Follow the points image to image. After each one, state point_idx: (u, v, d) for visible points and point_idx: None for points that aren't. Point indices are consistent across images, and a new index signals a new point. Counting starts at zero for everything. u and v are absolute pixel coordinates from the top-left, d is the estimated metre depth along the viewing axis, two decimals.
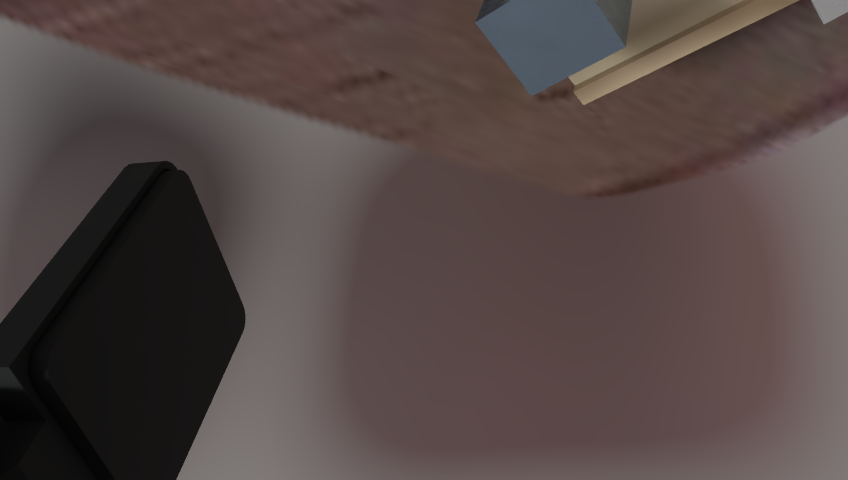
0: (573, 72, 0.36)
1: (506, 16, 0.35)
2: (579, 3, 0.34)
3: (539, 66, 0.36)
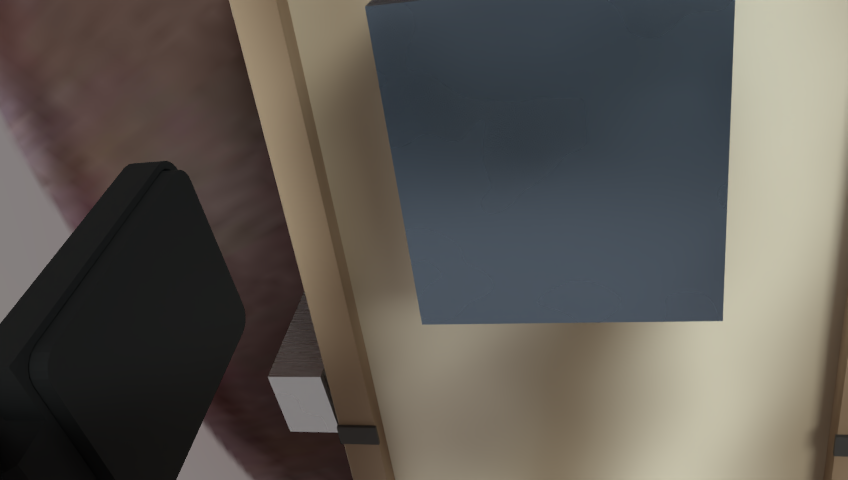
0: (396, 169, 0.11)
1: (688, 83, 0.10)
2: (601, 289, 0.12)
3: (462, 88, 0.10)
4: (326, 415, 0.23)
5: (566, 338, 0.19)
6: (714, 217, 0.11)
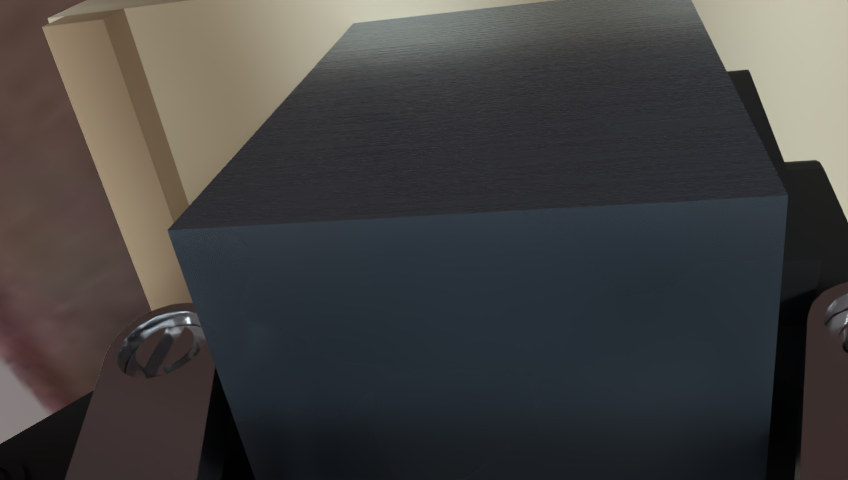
0: (249, 442, 0.07)
1: (701, 362, 0.06)
2: None
3: (336, 349, 0.06)
4: None
5: None
6: None
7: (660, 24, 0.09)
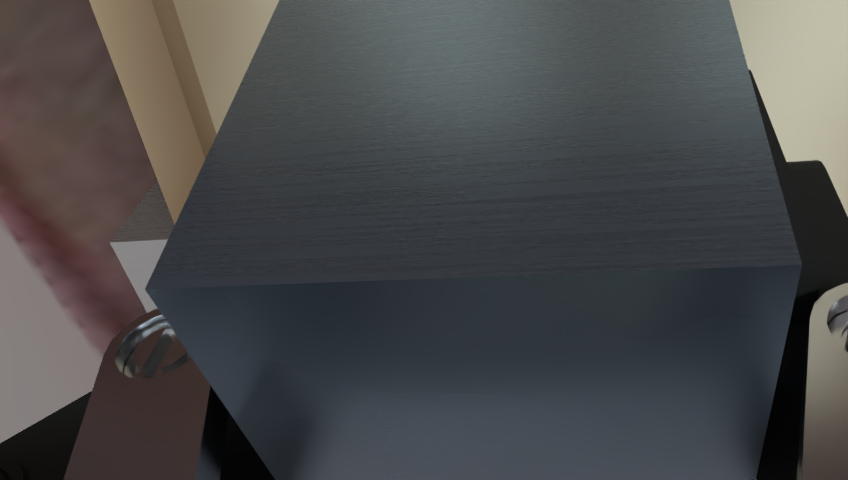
0: (256, 438, 0.08)
1: (701, 389, 0.06)
2: None
3: (332, 379, 0.06)
4: None
5: None
6: None
7: None
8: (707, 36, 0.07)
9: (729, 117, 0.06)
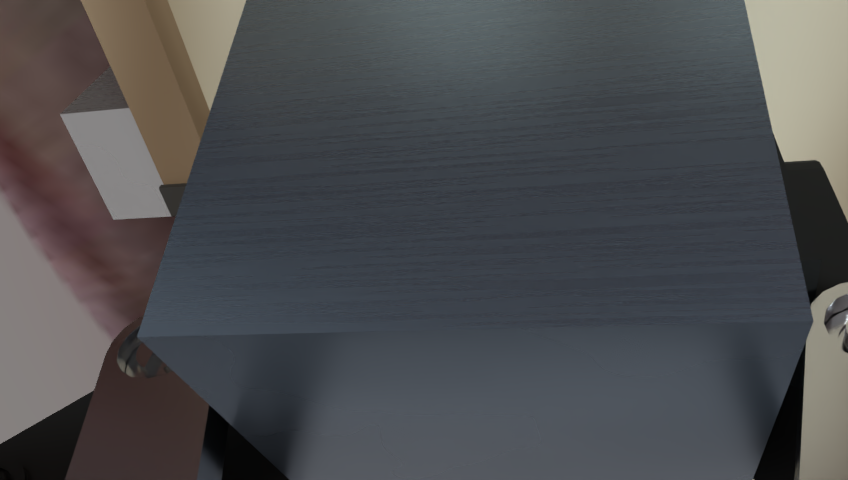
0: (259, 441, 0.08)
1: (704, 411, 0.06)
2: None
3: (333, 401, 0.06)
4: (160, 184, 0.15)
5: None
6: None
7: None
8: (716, 31, 0.06)
9: (739, 136, 0.06)
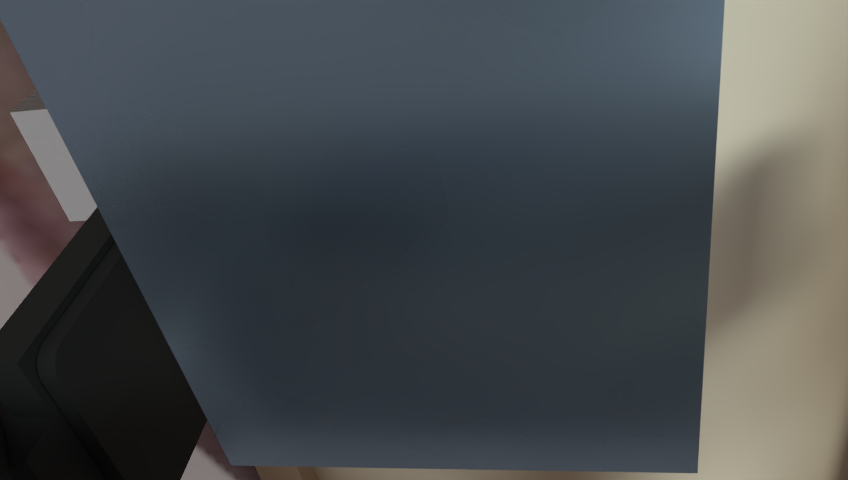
0: (131, 257, 0.06)
1: (631, 121, 0.05)
2: (500, 428, 0.07)
3: (206, 130, 0.05)
4: None
5: None
6: (683, 336, 0.06)
7: None
8: None
9: None
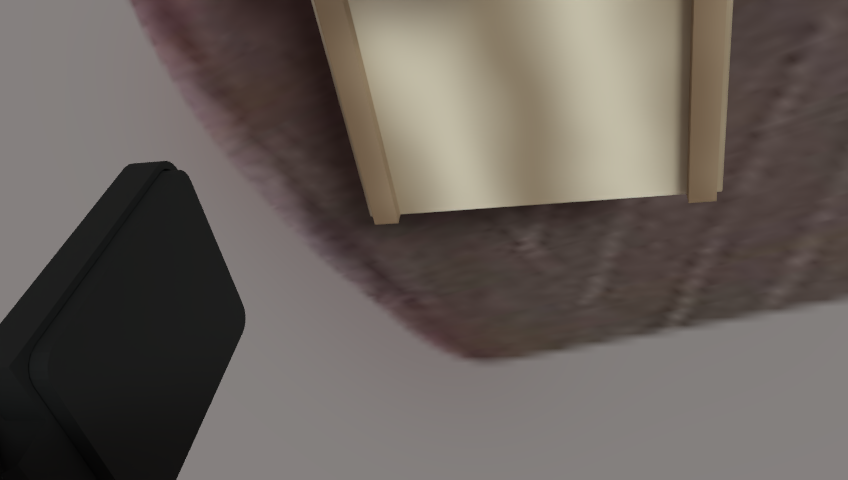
0: None
1: None
2: None
3: None
4: None
5: None
6: None
7: None
8: None
9: None
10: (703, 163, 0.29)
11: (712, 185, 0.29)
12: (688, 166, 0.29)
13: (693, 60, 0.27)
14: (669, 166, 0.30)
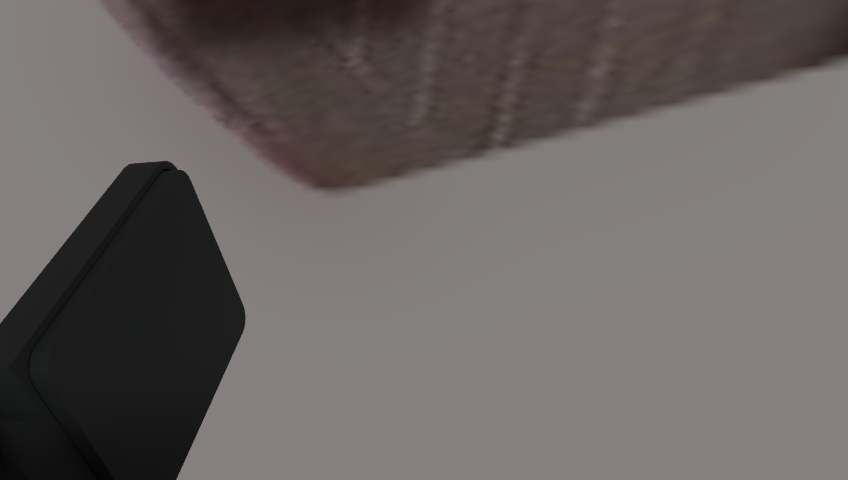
0: None
1: None
2: None
3: None
4: None
5: None
6: None
7: None
8: None
9: None
10: None
11: None
12: None
13: None
14: None
